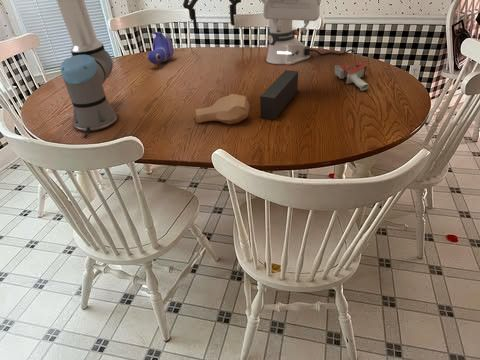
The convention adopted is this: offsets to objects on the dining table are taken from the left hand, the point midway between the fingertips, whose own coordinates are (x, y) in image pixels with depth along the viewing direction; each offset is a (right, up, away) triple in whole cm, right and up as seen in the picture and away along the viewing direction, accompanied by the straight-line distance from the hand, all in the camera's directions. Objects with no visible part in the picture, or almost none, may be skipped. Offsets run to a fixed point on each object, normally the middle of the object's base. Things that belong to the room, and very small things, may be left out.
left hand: (214, 26), depth 128 cm
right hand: (+28, -1, +4) cm, 28 cm away
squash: (+3, -34, +1) cm, 34 cm away
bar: (+25, -26, +10) cm, 37 cm away
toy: (-32, +6, +58) cm, 66 cm away
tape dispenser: (+58, -13, +25) cm, 64 cm away
